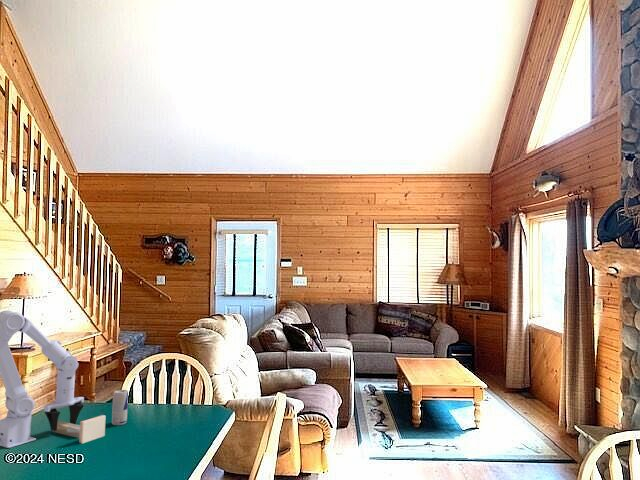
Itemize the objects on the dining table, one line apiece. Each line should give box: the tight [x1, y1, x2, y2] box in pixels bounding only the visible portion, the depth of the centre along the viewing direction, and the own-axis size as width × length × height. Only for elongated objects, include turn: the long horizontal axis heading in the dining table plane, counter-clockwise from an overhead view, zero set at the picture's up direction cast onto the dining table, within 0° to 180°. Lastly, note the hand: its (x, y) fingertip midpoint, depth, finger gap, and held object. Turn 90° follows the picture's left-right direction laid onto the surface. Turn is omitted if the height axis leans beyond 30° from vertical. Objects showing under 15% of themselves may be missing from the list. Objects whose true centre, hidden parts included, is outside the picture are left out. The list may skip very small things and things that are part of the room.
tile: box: [78, 414, 107, 445], centre depth 171 cm, size 9×2×7 cm, turn 154°
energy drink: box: [111, 389, 129, 426], centre depth 189 cm, size 5×5×12 cm
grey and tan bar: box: [51, 420, 80, 439], centre depth 176 cm, size 3×14×3 cm, turn 64°
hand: (63, 427), depth 177 cm, fingers open, 7 cm apart
